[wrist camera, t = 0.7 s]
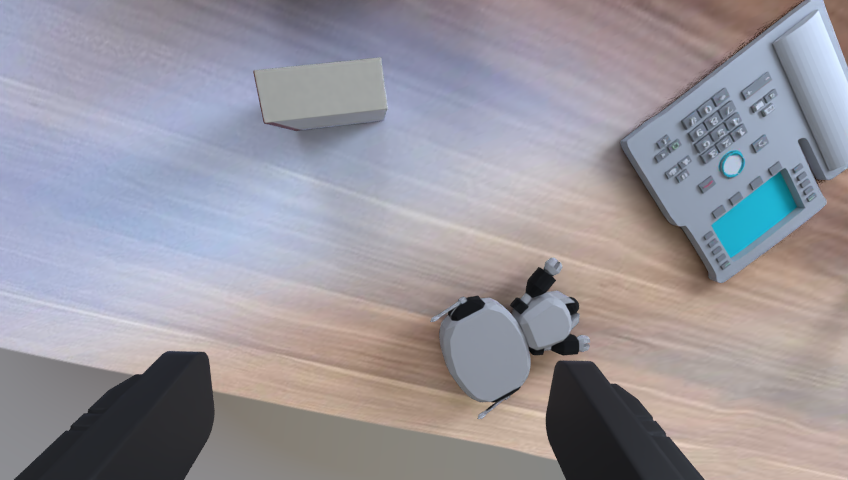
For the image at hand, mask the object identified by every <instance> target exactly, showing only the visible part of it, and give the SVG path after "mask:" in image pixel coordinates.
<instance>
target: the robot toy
mask: <svg viewBox="0 0 848 480" xmlns="http://www.w3.org/2000/svg"><path fill="white" fill-rule="evenodd" d="M557 261H558V260H557V259H555V258H550V259H549V260H548V261H546V262H545V266H544V270H543V269H541V268H539V267H538V268H537V270H536V271H535V272H534V273H533V274H532V276H531V277H530V278H529V279H528V282H527V286H526V293H525V294H524V295H523V296H522V298H521V299H520V298H516V299H515V300H514V301H513V302H512V303H511V305H510V306H511V307H512V308H513V311H512V315H511V313H510V312H509V311H508V310H507V309H506V308H504V307H503V306H502V305H501V304H500V303H499V302H497V301H496V300H494V299H492V298H480V297H479V296H473V297H468V298H465V297H461V298H460V299H458V302H456V303H455V304H453V305H452V306H450V307H449V308H447V309H446V310H444V311H443V312H441V313H440V314H438V315H437V316H434V317H433V318H432V319H431V321H430V322H435V321H436V320H438V319H439V318H440V317H441V316H443V315H444V314H446V313H447V312H448V315H447V317H446V318H445V319H444V320H443V321H442V322H441V327H440V331H439V338H440V345H441V350H442V353H443V356H444V360H445V363H446V366H447V368H448V370H449V372H450V374H451V375H452V377H453V378H454V379H455V381H456V382H457V384H458V385H459V386H460V388H461V389H462V390H463V391H464V392H465V393H466V394H467V395H468V396H469V397H471V398H472V399H474V400H476V401H479V402H495V403H494V404H493V405H491V406H490V407H489V408H488V409H487V410H485V411H484V412H482V413H480V414H479V416H478V419H482V418H483V417H484V416H485V415H486V414H487V413H488V412H490V411H491V410H492V409H493V408H494V407H496V406H497V405H498V404H499V403H501V402H502V401H503V400H504V399H505V400H507V399H508V398H509V397H510V395H512V394H513V393H514V392H516V391H517V390H519V388H520V387H521V386H522V385H523V383H524V382H525V380H526V379H527V377H528V374H529V370H530V353H531V354H532V355H543V353H544V351H545V350H551V351H553V352H556V353H558V354H561V355H573V354H578V352H579V351H580V352H584V351H587V350H588V349H589V346H590V345H589V344H588V342H589V343H590V339H589V338H588V336H584V335H580V336H578V337H576V336H575V335H572V334H569V333H570V331H571V330H572V329H573V328H574V327H575V325H576V324H577V323H578V322H579V315H580V314H578V313H577V311H578V309H579V303H578V301H577V300H576V299H575V298H572V297H567V296H566V295H564V294H562V293H561V292H559V291H551V292H547V290H548V289H549V288H550V287H551V286H552V284H553V283H554V282H555V281H556V280H555V279H554V278H553V277H552V276H554V275H556V274H558V273H560V271H561V269H562V264H561V263H560V262H557ZM556 262H557V263H556ZM584 343H586V344H584ZM528 346H529V348H528ZM529 351H530V353H529Z"/></svg>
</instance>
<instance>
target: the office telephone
mask: <svg viewBox="0 0 848 480" xmlns="http://www.w3.org/2000/svg"><path fill="white" fill-rule="evenodd" d="M620 142H621V146H622V149H623V150H624V152H625V154H626V156H627V157H628V159H629V160H630V162H631V164H632V165H633V167H634V168H635V170H636V172H637V173H638V175H639V176H640V178H641V180H642V181H643V183H644V184H645V186H646V188H647V189H648V191H649V192H650V194H651V196H652V197H653V199H654V200H655V202H656V204H657V205H658V207H659V208H660V210H661V212H662V213H663V215H664V216H665V217H666V219H667V220H668V221H669V223H671V224H672V225H676V226H680V227H681V228H682V229H683V231H684V232H685V234H686V235H687V237H688V238H689V240H690V242H691V243H692V245H693V246H694V248H695V250H696V251H697V253H698V255H699V256H700V258H701V260H702V261H703V263H704V265H705V266H706V268H707V270H708V273H709V278H710V279H711V280H713V281H716V282H719V283H723V282H725V281H726V280H728V279H729V278H731V277H732V276H734V275H735V274H736V273H738V272H739V271H740V270H742V269H743V268H744V267H746V266H747V265H748V264H750V263H751V262H753V261H754V260H755V259H757V258H758V257H759V256H761V255H762V254H763V253H765V252H766V251H767V250H769V249H770V248H771V247H773V246H774V245H775V244H777V243H778V242H779V241H781V240H782V239H783V238H785V237H786V236H787V235H789V234H790V233H791V232H793V231H794V230H795V229H797V228H798V227H799V226H800V225H802V224H803V223H804V222H806V221H807V220H808V219H809V218H811V217H812V216H813V215H814V214H816V213H817V212H818V211H819V210H820V209H822V208H823V207H824V206H825V205H826V199H825V198H824V197H823V195H822V193H821V191H820V189H819V187H818V185H817V183H816V181H815V179H814V177H813V174H814V176H815V177H816V179H821V180H831V179H833V178H834V177H835V176H837V175H838V174H840V173H841V172H843V171H844V170H845V169H847V168H848V67H847V65H846V62H845V59H844V56H843V54H842V51H841V48H840V46H839V43H838V40H837V38H836V35H835V32H834V30H833V27H832V24H831V22H830V19H829V16H828V14H827V11H826V8H825V5H824V2H823V0H805V1H803V2H802V3H801V4H799V5H798V6H797V7H796V8H794V9H793V10H792V11H790V12H789V13H788V14H786V15H785V16H784V17H782V18H781V19H780V20H779V21H777V22H776V23H775V24H773V25H772V26H771V27H770V28H768V29H767V30H766V31H764V32H763V33H762V34H761V35H759V36H758V37H757V38H755V39H754V40H753V41H752V42H750V43H749V44H748V45H746V46H745V47H744V48H743V49H741V50H740V51H739V52H737V53H736V54H735V55H734V56H732V57H731V58H730V59H729V60H727V61H726V62H725V63H723V64H722V65H721V66H720V67H718V68H717V69H716V70H714V71H713V72H712V73H711V74H709V75H708V76H707V77H705V78H704V79H703V80H702V81H700V82H699V83H698V84H696V85H695V86H694V87H693V88H691V89H690V90H689V91H687V92H686V93H685V94H684V95H682V96H681V97H680V98H678V99H677V100H676V101H675V102H673V103H672V104H671V105H669V106H668V107H667V108H665V109H664V110H663V111H661V112H660V113H659V114H658V115H656V116H654V117H653V118H651V119H649V120H648V121H646V122H645V123H644V124H642V125H641V126H640V127H638V128H637V129H636V130H635V131H633V132H632V133H631V134H629V135H628V136H627V137H625V138H624V139H623V140H622V141H620ZM799 145H800V146H799ZM800 147H801V148H800ZM801 149H802V150H801ZM802 151H803V152H802ZM803 153H804V155H805V157H806V159H807V161H806V159H805V157H804V155H803ZM807 162H808V163H807ZM808 164H809V166H810V168H811V170H812V172H813V174H812V172H811V170H810V168H809V166H808Z"/></svg>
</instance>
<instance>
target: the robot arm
mask: <svg viewBox="0 0 848 480" xmlns="http://www.w3.org/2000/svg"><path fill="white" fill-rule="evenodd" d="M213 421H214V401H213V391H212V383H211V374H210V365H209V359H208V356H207V354H206V353H205V352H184V351H167V352H165V353H164V354H162V355H161V356H160V357H159V358H158V359H157V360H156V361H155V362H154V363H153V364H152V365H151V366H150V367H149V368H148V369H147V370H146V371H145V372H144V373H143V374H136V375H134V376H132V377H131V378H129V379H127V380H125V381H124V382H122V383H120V384H119V385H117V386H115V387H113V388H112V389H110V390H108V391H107V392H106V393H105V394H104V395H103V396H102V397H101V398H100V399H99V400H98V401H97V402H96V403H95V404H94V405H93V406H91V407H90V409H88V413H85V414H83V415H82V416H81V417H80V418H79V419H78V420H77V421H76V422H75V423H73V424H72V425H71V428H70V430H69V431H65V432H64V433H63V434H62V435H61V436H60V437H59V438H58V439H56V441H54V442H53V443H52V444H51V445H50V446H49V447H48V448H47V449H46V450H45V451H44V452H43V453H42V454H41V455H40V456H39V457H37V458H36V459H35V460H34V461H33V462H32V463H31V464H30V465H29V466H28V467H27V468H26V469H25V470H24V471H23V472H21V473H20V475H18V476H17V477H16V478H15V479H14V480H184V479H185V477H186V475H187V473H188V472H189V470H190V468H191V467H192V464H193V463H194V462H195V460H196V458H197V457H198V455H199V453H200V452H201V450H202V448H203V447H204V445H205V443H206V442H207V439H208V438H209V435H210V433H211V430H212V426H213ZM546 430H547V436H548V440H549V443H550V445H551V447H552V449H553V452H554V454H555V456H556V458H557V461H558V463H559V465H560V467H561V469H562V472H563V474H564V476H565V478H566V480H704V478H703V477H702V476H701V475H700V474H699V472H698V471H697V470H696V469H695V468H694V466H693V465H692V464H691V463H690V462H689V460H688V459H687V458H686V457H685V455H684V454H683V453H682V452H681V451H680V449H679V448H678V447H677V446H676V445H675V443H674V442H673V441H672V440H671V439H670V437H666V433H665V431H664V430H663V429H662V428H661V427H660V425H659V424H658V423H657V422H656V421H653V417H652V416H651V415H650V413H649V412H648V411H647V410H646V409H645V407H644V406H643V405H642V404H641V403H640V401H639V400H638V399H637V398H635V397H634V396H633V395H631V394H630V393H628V392H627V391H626V390H624V389H623V388H621V387H620V386H619V385H617V384H610V383H609V381H608V380H607V379H606V378H605V376H604V375H603V374H602V372H601V371H600V370H599V369H598V367H597V366H596V365H595V364H594V363H593V362H591V361H558V362H557V363H556V365H555V369H554V374H553V379H552V385H551V390H550V396H549V401H548V406H547V412H546Z"/></svg>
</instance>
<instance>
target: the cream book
mask: <svg viewBox="0 0 848 480" xmlns="http://www.w3.org/2000/svg"><path fill="white" fill-rule="evenodd" d="M253 72H254V77H255V82H256V87H257V92H258V97H259V102H260V107H261V111H262V116H263V121H264V123H265V124H269V125H273V126H277V127H281V128H286V129H290V130H294V131H299V130H307V129H315V128H324V127H333V126H341V125H350V124H358V123H367V122H376V121H384V118H385V115H386V112H387V109H388V107H387V100H386V92H385V85H384V77H383V70H382V62H381V58H370V59H360V60H350V61H340V62H331V63H321V64H311V65H301V66H291V67H282V68H272V69H262V70H254V71H253Z"/></svg>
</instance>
